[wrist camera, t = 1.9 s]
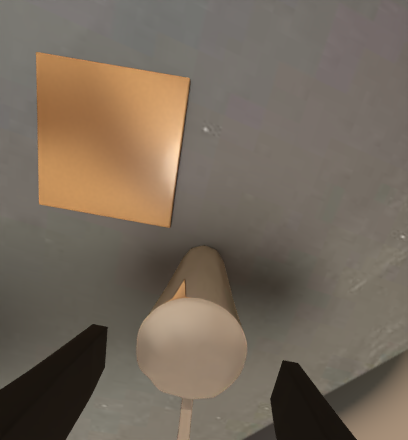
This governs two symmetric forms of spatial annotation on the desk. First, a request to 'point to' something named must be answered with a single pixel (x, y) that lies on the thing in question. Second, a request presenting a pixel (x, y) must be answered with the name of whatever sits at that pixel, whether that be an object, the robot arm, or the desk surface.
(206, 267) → the milkshake
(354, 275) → the desk surface
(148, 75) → the coaster
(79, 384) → the robot arm
